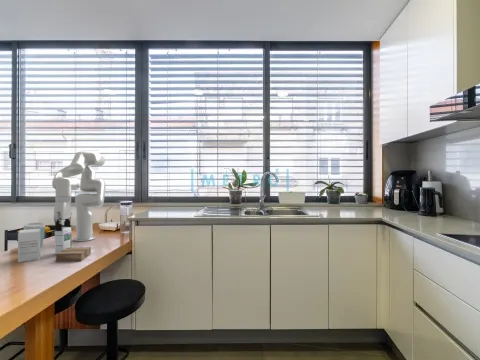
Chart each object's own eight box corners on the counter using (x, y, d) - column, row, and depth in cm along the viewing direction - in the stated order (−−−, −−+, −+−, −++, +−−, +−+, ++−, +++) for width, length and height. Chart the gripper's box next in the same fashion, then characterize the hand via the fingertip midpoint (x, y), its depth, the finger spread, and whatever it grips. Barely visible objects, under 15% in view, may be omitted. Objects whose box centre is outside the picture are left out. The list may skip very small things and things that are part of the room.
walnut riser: (67, 254, 149) (67, 247, 149) (90, 254, 151) (90, 247, 151) (55, 261, 137) (56, 254, 137) (81, 261, 139) (81, 253, 139)
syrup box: (63, 254, 149) (63, 228, 149) (54, 254, 150) (54, 228, 150) (71, 252, 155) (71, 227, 155) (63, 251, 156) (63, 226, 156)
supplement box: (19, 257, 143) (19, 229, 143) (40, 255, 148) (40, 228, 148) (17, 262, 135) (17, 233, 135) (39, 259, 140) (39, 231, 140)
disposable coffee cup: (49, 247, 163) (49, 223, 163) (29, 252, 153) (29, 226, 153) (39, 245, 167) (39, 221, 167) (19, 249, 158) (19, 224, 157)
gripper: (64, 198, 160) (63, 227, 160) (47, 200, 143) (47, 232, 143) (77, 198, 161) (77, 226, 161) (62, 200, 144) (62, 232, 144)
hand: (62, 229), depth 152 cm, fingers open, 9 cm apart
